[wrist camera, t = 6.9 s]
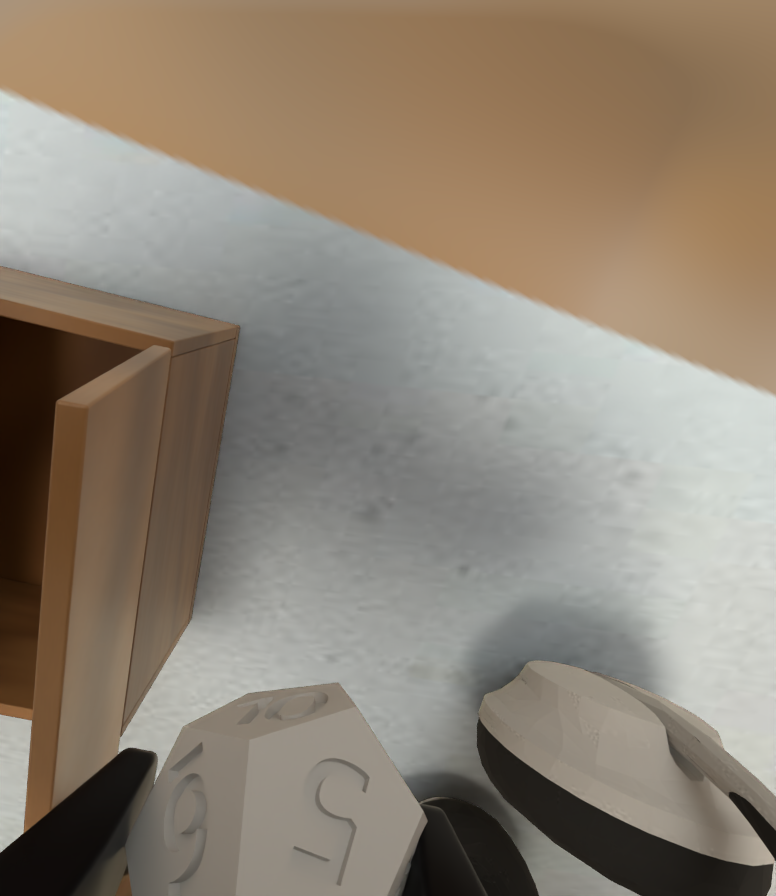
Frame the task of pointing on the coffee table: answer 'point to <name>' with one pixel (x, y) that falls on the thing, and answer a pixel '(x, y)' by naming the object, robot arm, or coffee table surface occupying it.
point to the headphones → (615, 789)
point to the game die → (277, 804)
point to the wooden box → (30, 453)
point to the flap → (92, 572)
